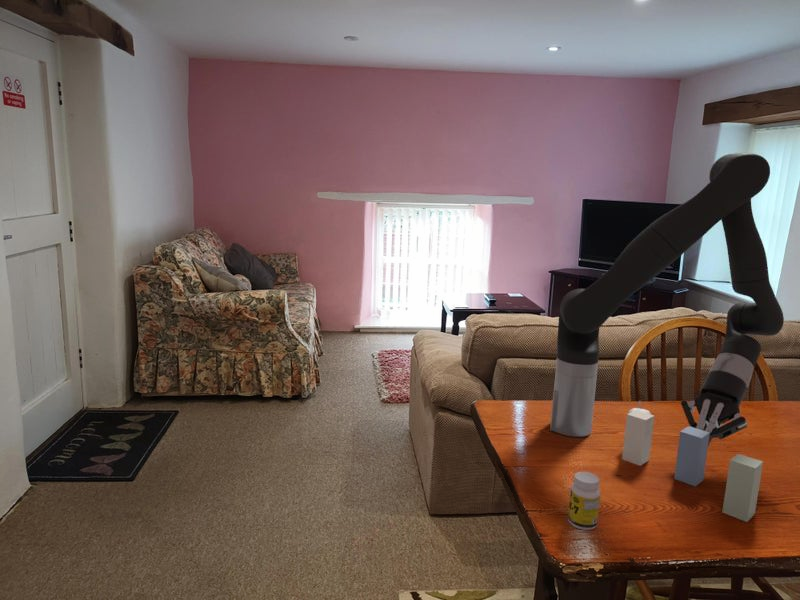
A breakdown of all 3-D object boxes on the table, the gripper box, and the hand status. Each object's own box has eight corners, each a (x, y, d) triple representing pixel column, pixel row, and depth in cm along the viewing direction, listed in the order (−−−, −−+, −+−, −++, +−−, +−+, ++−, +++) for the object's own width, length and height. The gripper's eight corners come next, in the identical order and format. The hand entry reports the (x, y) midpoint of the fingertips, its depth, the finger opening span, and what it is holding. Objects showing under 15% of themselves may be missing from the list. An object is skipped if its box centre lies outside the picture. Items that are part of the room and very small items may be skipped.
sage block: (722, 512, 105) (730, 459, 103) (730, 504, 108) (738, 453, 106) (746, 522, 102) (755, 468, 100) (754, 514, 105) (763, 461, 103)
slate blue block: (674, 478, 117) (680, 431, 115) (682, 472, 120) (688, 426, 118) (695, 486, 114) (701, 438, 112) (703, 479, 117) (709, 432, 115)
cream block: (621, 459, 125) (626, 414, 123) (630, 453, 127) (635, 409, 126) (640, 465, 122) (645, 420, 120) (649, 460, 125) (654, 415, 123)
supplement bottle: (563, 515, 102) (568, 470, 101) (590, 514, 103) (594, 470, 101) (573, 531, 97) (578, 484, 96) (601, 530, 98) (606, 483, 96)
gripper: (691, 362, 126) (659, 430, 120) (760, 378, 116) (729, 453, 110) (698, 381, 130) (667, 448, 124) (765, 398, 121) (735, 471, 115)
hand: (697, 450), depth 117 cm, fingers closed
